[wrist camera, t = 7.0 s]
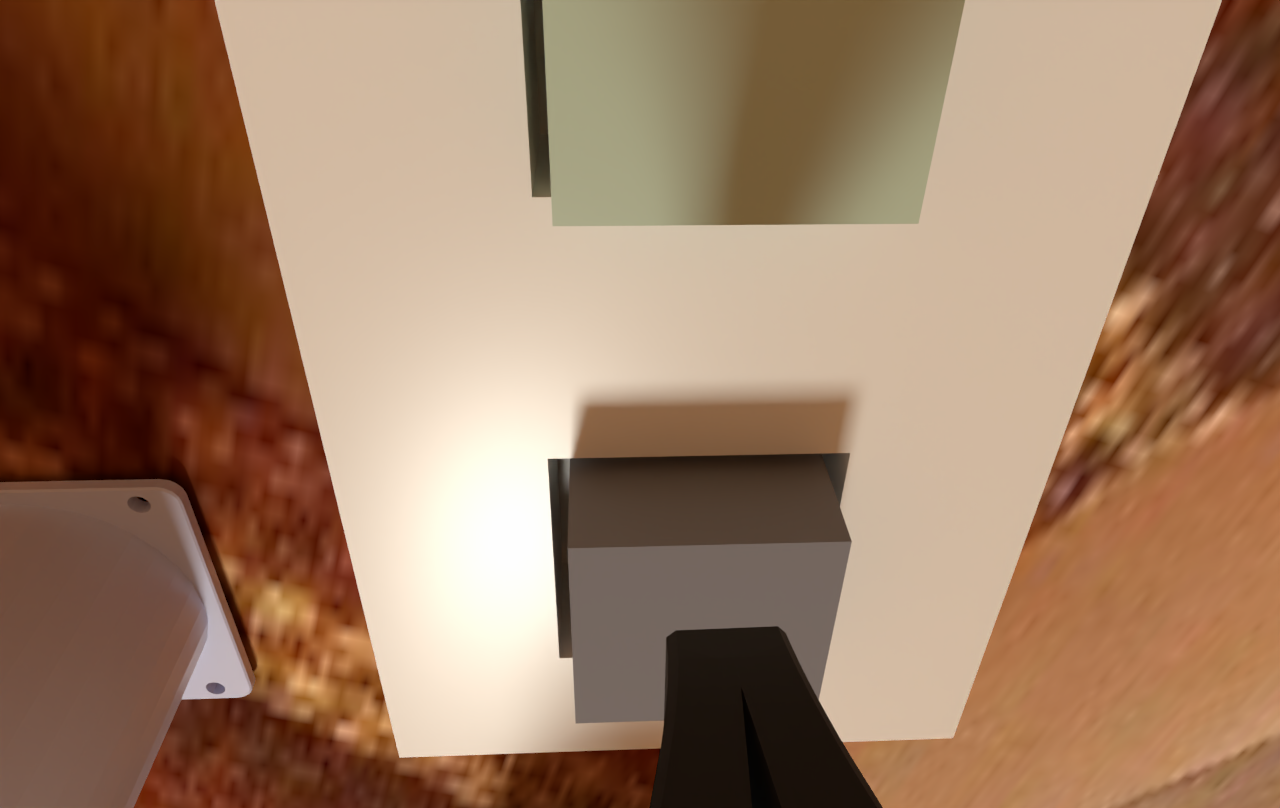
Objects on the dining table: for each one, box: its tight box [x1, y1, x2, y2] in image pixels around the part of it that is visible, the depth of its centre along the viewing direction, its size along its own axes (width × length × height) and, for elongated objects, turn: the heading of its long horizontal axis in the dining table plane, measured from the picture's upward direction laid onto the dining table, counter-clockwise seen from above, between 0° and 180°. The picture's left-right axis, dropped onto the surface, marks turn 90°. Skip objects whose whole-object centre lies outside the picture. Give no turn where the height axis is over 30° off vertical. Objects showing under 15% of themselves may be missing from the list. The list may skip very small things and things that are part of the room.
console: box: [215, 0, 1222, 757], centre depth 17 cm, size 14×24×4 cm, turn 179°
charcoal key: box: [568, 454, 852, 723], centre depth 18 cm, size 5×5×3 cm
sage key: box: [542, 0, 965, 226], centre depth 12 cm, size 5×5×3 cm
